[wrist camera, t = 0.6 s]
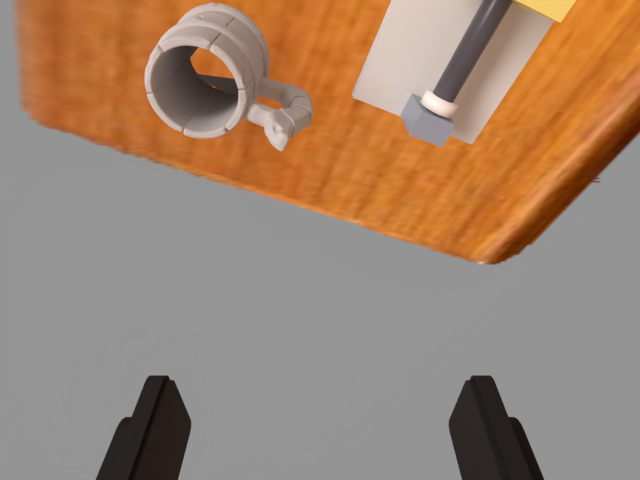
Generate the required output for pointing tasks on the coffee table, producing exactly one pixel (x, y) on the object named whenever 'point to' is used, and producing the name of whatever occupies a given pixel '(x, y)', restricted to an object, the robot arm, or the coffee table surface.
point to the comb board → (432, 51)
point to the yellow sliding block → (546, 7)
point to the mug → (221, 79)
